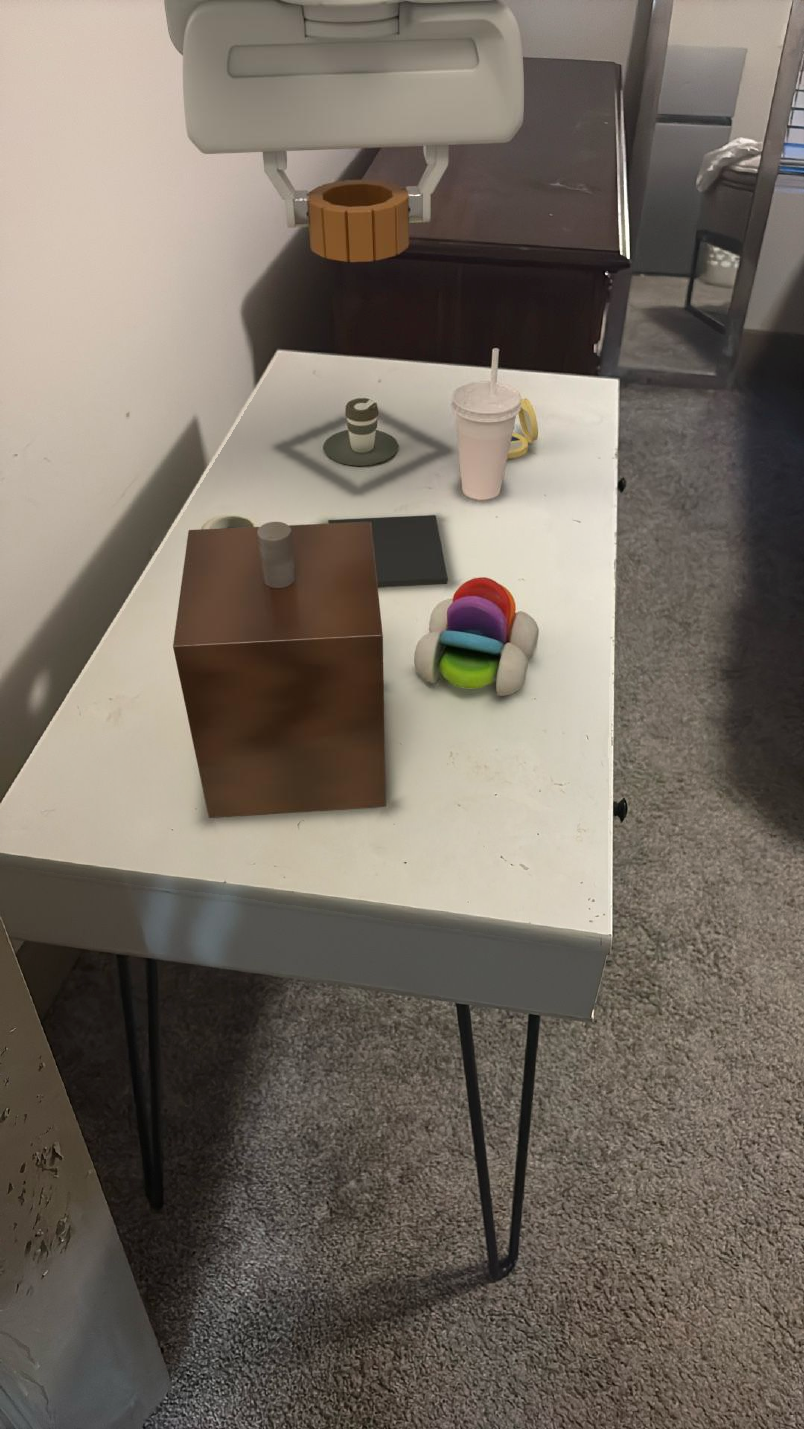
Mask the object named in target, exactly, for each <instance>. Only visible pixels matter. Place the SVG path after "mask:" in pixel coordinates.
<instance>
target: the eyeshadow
mask: <svg viewBox="0 0 804 1429" xmlns="http://www.w3.org/2000/svg"><path fill="white" fill-rule="evenodd" d="M517 415H518V419H519V425H520V428H521V431H522V433H523V434H520V433H517V432H513V433H512V438H511V442H510V447H509V452H508V457H507V459H517V458H519V457H522V456H524V455H526V453H527V452H528V450H529V448H528V447H529V443H533V442H535V441H537V440H538V438H539V426H538V420H537V416H536V413H535V410H534V407H533V405H532V402H531V400H530V399H528V398H526V397H525V398H521V410H520V412H519V413H518V414H517Z"/></svg>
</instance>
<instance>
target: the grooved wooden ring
mask: <svg viewBox="0 0 804 1429" xmlns="http://www.w3.org/2000/svg"><path fill="white" fill-rule="evenodd" d="M308 205H309V211H308V216H309V218H310V225H309V227H308V230H309V243H310V244H309V245H310V251H312V253H314V254H316V255H318V256H320V257H321V258H325V259H327V260H332V261H339V262H344V263H347V262H349V263H365V262H374V260H375V261H380V260H384V259H389V258H392V257H396V256H397V255H400V254H402V252H404V251H405V250H407V249H408V248H409V246H410V223H409V221H408V212H409V207H408V196H407V192H406V187H403V186H401V185H399V184H396V183H394V182H390V181H384V180H377V179H366V178H365V179H345V180H337V181H334V182H333V181H332V182H329V183H324V184H321V185H319V186H317V187H315V188H314V189H312V190H310V191H308Z"/></svg>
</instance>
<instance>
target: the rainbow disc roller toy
mask: <svg viewBox="0 0 804 1429" xmlns="http://www.w3.org/2000/svg"><path fill="white" fill-rule="evenodd" d="M516 609H517V606H516V601H515V598H514V597H513V594H512V593H511V592H510V590H508V588H506V587H505V586H503V585H502V584H500V583H498V582H497V581H496V580H494V579H492V578H490V577H485V576H483V577H482V576H481V577H480V576H479V577H474V578H471V579H469V580H467V581H465V582H464V583H462V584H461V585H460V586H459V587H458V588H457V589H456V590H455V592H454V593H453V596H452V598H447V599H445V600H442V601H440V602H439V603H438V604H437V605H435V607H434V608H433V609H432V612H431V614H430V618H429V623H428V624H429V625H428V626H429V627H428V628H429V632H428V633H426V634H425V635H423V636H422V637H421V638H420V639H419V640H418V641H417V644H416V646H415V649H414V655H413V665H414V668H415V670H416V672H417V673H418V675H419V676H420V677H421V678H422V679H424V680H425V681H427V682H429V683H431V684H435V683H437V682H438V680H439V679H440V676H442V677H443V679H445V680H446V681H447V682H448V683H450V684H451V685H453V686H455V687H457V688H461V689H468V690H469V689H470V690H471V689H472V690H474V689H480V688H483V687H486V686H489V685H490V684H492V683H494V682H495V680H496V683H495V692H496V695H497V696H508V695H512V694H514V693H516V692H517V691H519V690H520V689H521V688H522V686H523V685H524V683H525V682H526V681H525V680H526V677H527V674H528V673H527V672H528V666H529V665H528V664H529V663H528V658H530V657H531V656H532V655H533V654H534V653H535V651H536V649H537V646H538V645H537V644H538V640H539V632H540V629H539V626H538V623H537V622H536V620H535V619H534V618H533V617H532V615H530V614H528V613H527V612H525V611H523V610H519V611H517V612H516Z"/></svg>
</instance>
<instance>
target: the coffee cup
mask: <svg viewBox="0 0 804 1429" xmlns="http://www.w3.org/2000/svg"><path fill="white" fill-rule="evenodd" d="M344 410H345V411H344V415H345V417H346V425H347V429H345V430H341V431H339V432H336V433H334V434H332V435H330V436H329V437H328V438H326V440H325V441H324V443H323V446H322V448H323V453H324V454H325V455H326V456H327V457H328V458H329V459H330V460H332V461H334V462H337V463H339V464H342V465H346V466H354V467H365V466H366V467H367V466H375V465H379V464H382V463H386V462H388V461H390V460H391V459H392V458H394V457H395V456H396V454H397V452H398V451H399V443H398V441H397V439H396V438H395V437H394V436H393V435H390V434H389V433H387V432H385V431H382V430H379V429H378V416H379V408H378V402H377V401H374V399H373V398H366V397H358V398H354V399H351V400H350V401H348V402H347V403H346V405H345V409H344Z"/></svg>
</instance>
